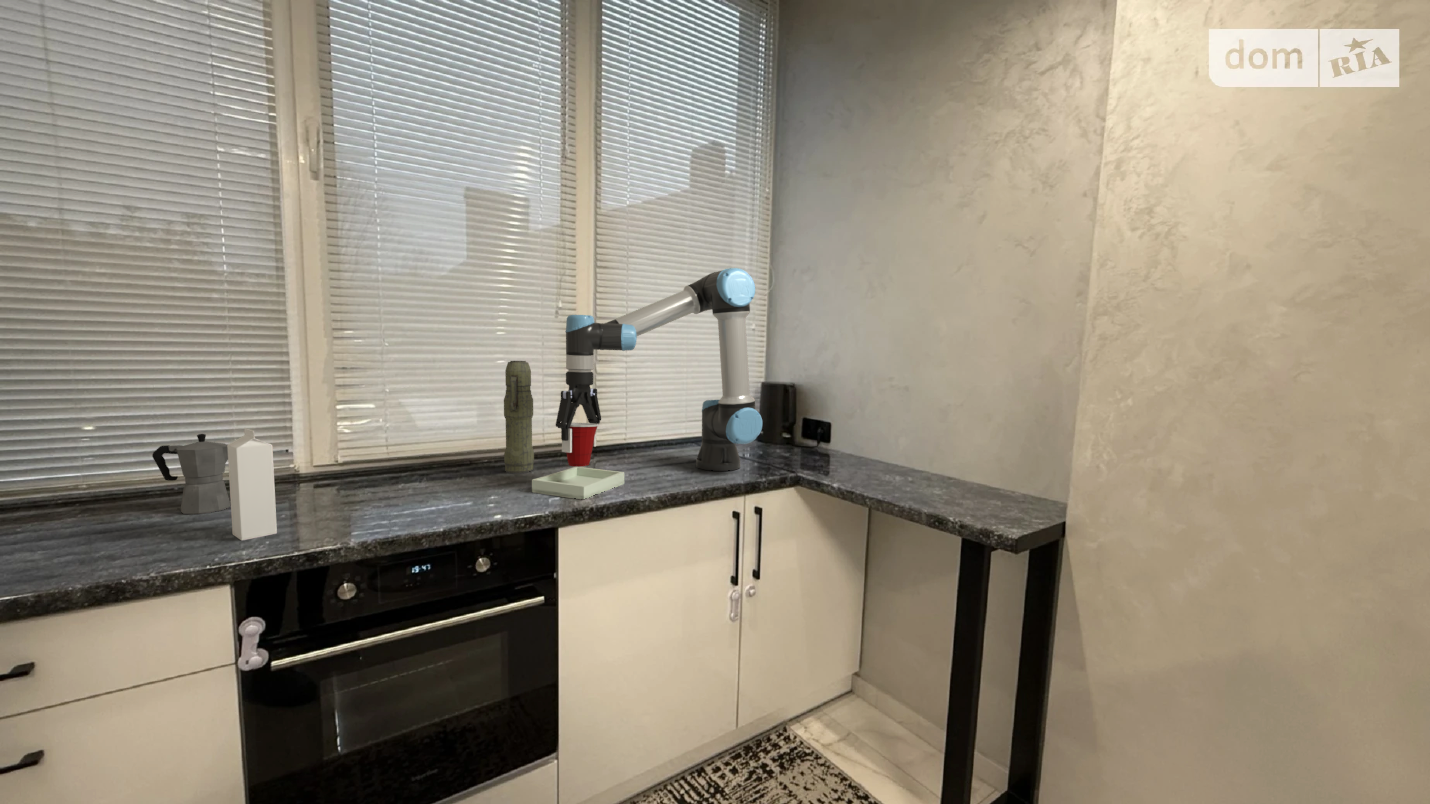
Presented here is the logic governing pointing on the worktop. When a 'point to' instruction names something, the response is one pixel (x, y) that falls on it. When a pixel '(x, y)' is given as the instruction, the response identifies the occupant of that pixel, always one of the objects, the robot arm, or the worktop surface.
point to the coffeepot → (199, 474)
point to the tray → (578, 482)
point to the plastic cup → (581, 443)
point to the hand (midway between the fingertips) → (579, 449)
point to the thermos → (518, 418)
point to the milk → (251, 487)
